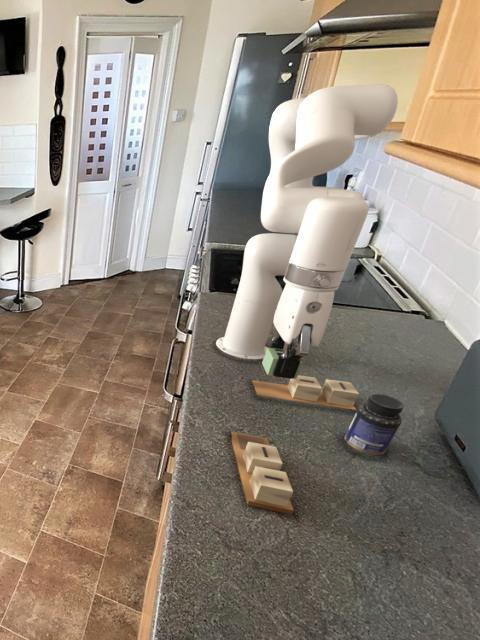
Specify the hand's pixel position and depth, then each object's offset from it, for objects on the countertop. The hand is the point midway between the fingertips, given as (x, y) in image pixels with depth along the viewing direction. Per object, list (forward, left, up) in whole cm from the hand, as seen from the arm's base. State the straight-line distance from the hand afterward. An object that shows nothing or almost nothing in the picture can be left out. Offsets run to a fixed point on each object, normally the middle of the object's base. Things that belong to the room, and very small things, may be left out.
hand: (279, 368), depth 80 cm
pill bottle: (-2, +19, -16) cm, 25 cm away
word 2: (-17, +12, -16) cm, 26 cm away
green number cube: (0, 0, -1) cm, 1 cm away
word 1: (+11, -1, -16) cm, 19 cm away
